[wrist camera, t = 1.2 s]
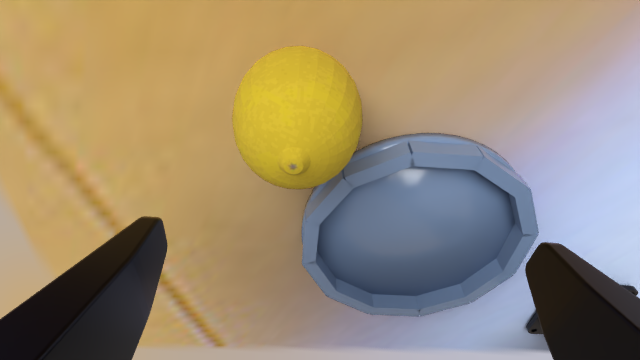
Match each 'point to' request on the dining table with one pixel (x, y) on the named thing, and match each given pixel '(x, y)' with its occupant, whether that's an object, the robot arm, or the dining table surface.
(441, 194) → the light blue round dish
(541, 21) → the dining table surface
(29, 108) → the dining table surface
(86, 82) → the dining table surface
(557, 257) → the robot arm
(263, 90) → the lemon
